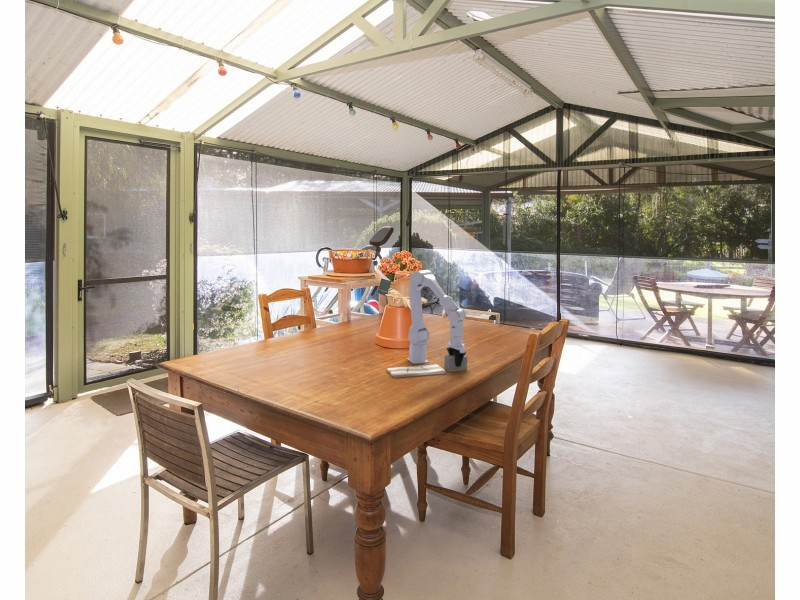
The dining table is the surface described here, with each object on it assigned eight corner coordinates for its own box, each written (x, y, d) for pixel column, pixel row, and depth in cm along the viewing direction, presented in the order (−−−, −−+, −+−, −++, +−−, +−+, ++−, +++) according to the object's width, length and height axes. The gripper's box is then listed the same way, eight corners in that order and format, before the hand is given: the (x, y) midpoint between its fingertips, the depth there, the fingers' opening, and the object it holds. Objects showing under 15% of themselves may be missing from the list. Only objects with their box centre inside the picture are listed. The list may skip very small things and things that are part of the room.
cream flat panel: (386, 370, 220) (386, 368, 220) (436, 366, 227) (436, 364, 227) (393, 377, 210) (393, 375, 210) (446, 373, 217) (446, 370, 217)
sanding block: (444, 368, 225) (444, 355, 224) (462, 366, 228) (462, 354, 227) (448, 371, 221) (448, 358, 220) (466, 369, 223) (467, 356, 222)
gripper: (471, 338, 216) (470, 368, 218) (458, 331, 230) (457, 360, 232) (456, 339, 214) (455, 369, 216) (444, 332, 228) (443, 361, 230)
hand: (455, 364), depth 224 cm, fingers closed on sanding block, 5 cm apart
